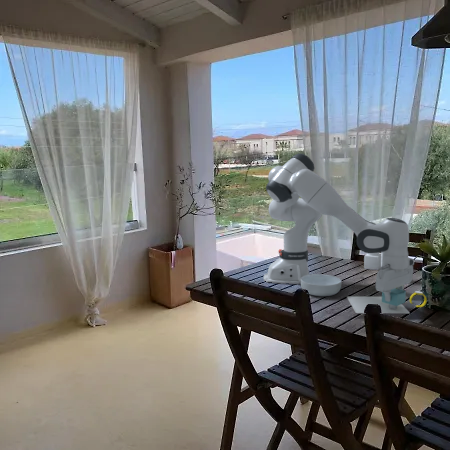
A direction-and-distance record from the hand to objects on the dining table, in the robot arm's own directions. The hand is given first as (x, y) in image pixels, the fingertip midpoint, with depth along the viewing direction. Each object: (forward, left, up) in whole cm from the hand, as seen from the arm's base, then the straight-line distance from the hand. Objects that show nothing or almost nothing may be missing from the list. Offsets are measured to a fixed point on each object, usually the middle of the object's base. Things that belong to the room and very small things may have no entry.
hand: (393, 298), depth 161 cm
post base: (-5, +4, -5) cm, 8 cm away
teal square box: (0, 0, -1) cm, 1 cm away
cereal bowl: (-24, +20, -6) cm, 32 cm away
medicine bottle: (+8, +65, -5) cm, 66 cm away
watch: (+11, +6, -5) cm, 14 cm away
